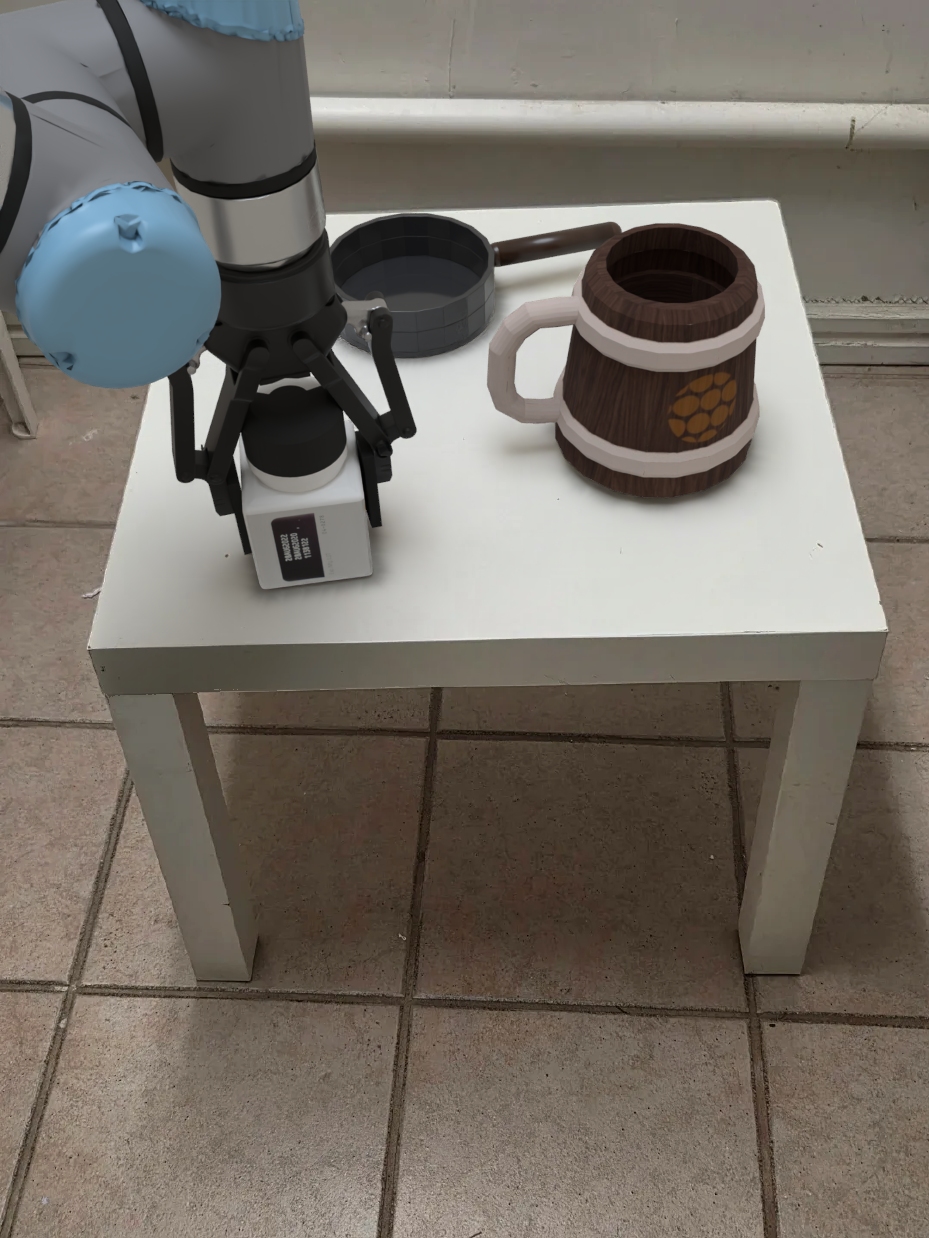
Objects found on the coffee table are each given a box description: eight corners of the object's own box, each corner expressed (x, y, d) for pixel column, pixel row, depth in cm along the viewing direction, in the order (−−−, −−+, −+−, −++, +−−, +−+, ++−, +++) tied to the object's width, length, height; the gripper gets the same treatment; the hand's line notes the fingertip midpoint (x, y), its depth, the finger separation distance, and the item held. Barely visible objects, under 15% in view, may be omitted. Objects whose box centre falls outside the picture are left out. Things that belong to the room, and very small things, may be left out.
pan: (347, 372, 96) (341, 325, 92) (316, 274, 104) (309, 229, 101) (515, 339, 98) (515, 293, 94) (469, 247, 106) (468, 201, 103)
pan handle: (488, 274, 99) (488, 253, 98) (482, 260, 101) (481, 239, 99) (624, 248, 101) (626, 228, 100) (616, 236, 102) (618, 215, 101)
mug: (724, 364, 95) (754, 192, 83) (777, 496, 85) (818, 322, 74) (476, 388, 94) (471, 217, 82) (501, 524, 84) (499, 353, 73)
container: (374, 577, 81) (356, 433, 71) (260, 592, 81) (226, 448, 71) (362, 499, 86) (344, 353, 76) (255, 512, 86) (223, 367, 76)
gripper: (428, 168, 69) (443, 461, 86) (59, 229, 65) (152, 520, 83) (462, 239, 64) (471, 533, 81) (66, 308, 61) (164, 598, 78)
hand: (310, 526), depth 82 cm, fingers closed on container, 8 cm apart
